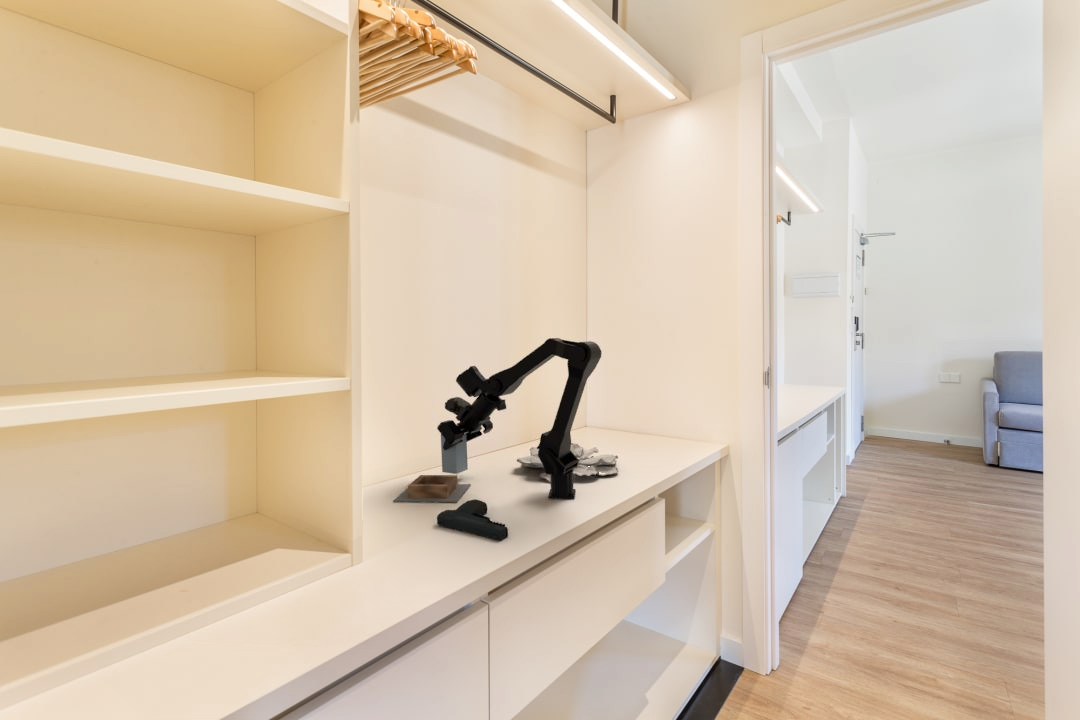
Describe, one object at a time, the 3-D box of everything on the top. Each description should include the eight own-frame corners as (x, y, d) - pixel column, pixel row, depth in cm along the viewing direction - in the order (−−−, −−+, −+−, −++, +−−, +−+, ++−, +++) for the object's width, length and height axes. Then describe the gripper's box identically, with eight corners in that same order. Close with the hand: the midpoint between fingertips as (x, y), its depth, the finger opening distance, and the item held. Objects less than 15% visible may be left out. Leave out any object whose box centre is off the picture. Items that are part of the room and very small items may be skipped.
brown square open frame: (457, 486, 138) (457, 475, 138) (447, 498, 128) (446, 486, 128) (421, 486, 139) (420, 475, 139) (408, 497, 129) (407, 485, 129)
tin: (468, 469, 146) (466, 425, 146) (456, 474, 142) (455, 428, 141) (453, 467, 149) (451, 424, 148) (441, 472, 144) (439, 427, 144)
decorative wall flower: (624, 460, 139) (512, 460, 140) (624, 485, 139) (512, 485, 140) (613, 436, 169) (520, 436, 170) (613, 457, 169) (521, 457, 170)
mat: (470, 485, 140) (470, 484, 140) (456, 503, 126) (456, 501, 126) (413, 485, 141) (413, 483, 141) (393, 502, 127) (393, 500, 127)
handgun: (532, 526, 112) (498, 546, 102) (469, 511, 121) (433, 528, 111) (532, 511, 112) (498, 530, 101) (469, 497, 121) (432, 513, 111)
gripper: (482, 384, 151) (453, 420, 156) (441, 391, 134) (410, 431, 140) (506, 412, 147) (476, 448, 153) (467, 423, 131) (435, 463, 137)
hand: (450, 446), depth 146 cm, fingers closed on tin, 5 cm apart
